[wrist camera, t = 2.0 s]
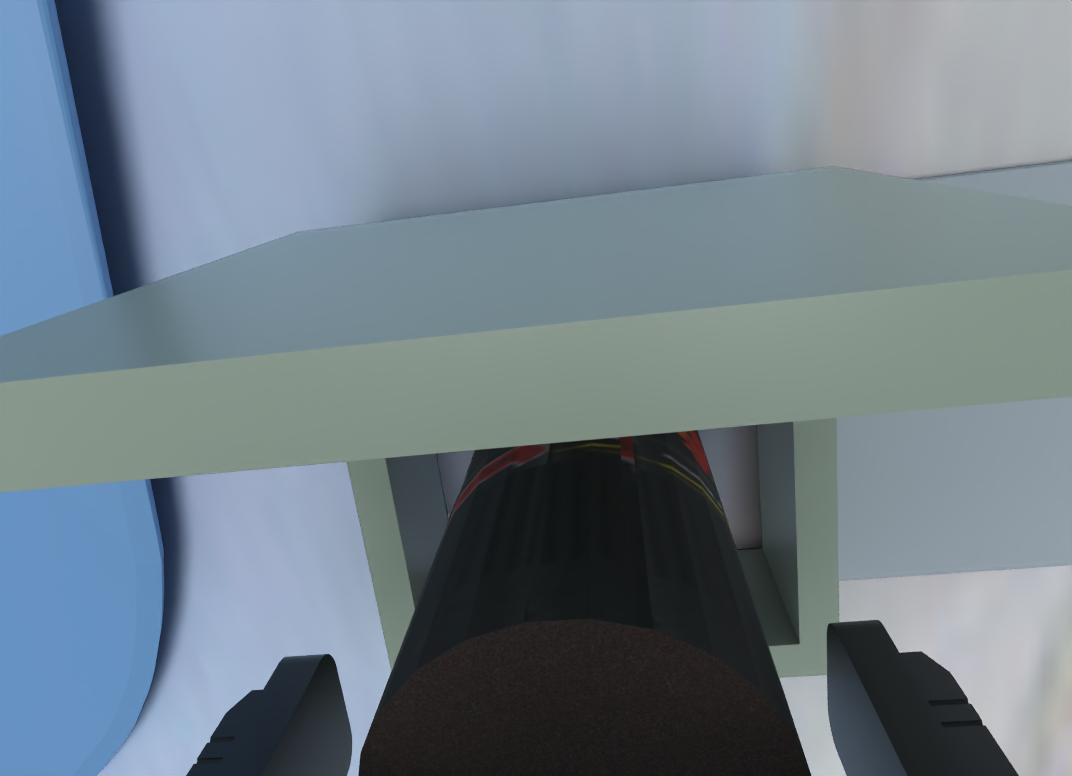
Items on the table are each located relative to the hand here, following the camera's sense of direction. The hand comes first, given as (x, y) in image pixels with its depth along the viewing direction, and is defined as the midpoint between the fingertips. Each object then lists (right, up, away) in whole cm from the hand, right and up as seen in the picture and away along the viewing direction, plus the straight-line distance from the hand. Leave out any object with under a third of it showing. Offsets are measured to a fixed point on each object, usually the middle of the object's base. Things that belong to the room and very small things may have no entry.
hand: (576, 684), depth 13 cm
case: (+1, +4, +12) cm, 12 cm away
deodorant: (+1, +4, +12) cm, 13 cm away
